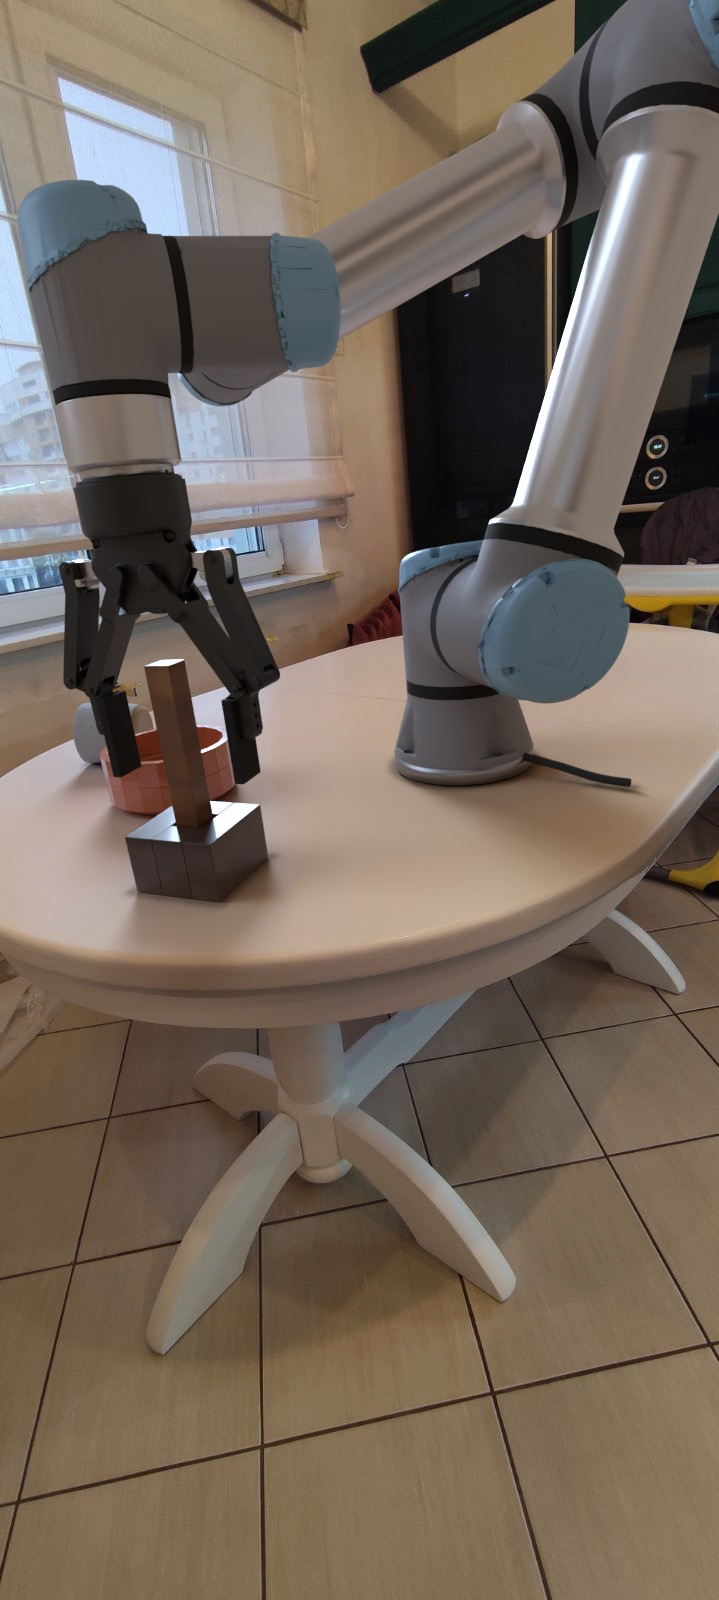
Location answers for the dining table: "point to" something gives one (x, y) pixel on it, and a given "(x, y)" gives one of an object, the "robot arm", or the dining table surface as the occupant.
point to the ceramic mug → (91, 740)
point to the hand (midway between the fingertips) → (185, 774)
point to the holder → (198, 852)
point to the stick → (179, 742)
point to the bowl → (149, 781)
